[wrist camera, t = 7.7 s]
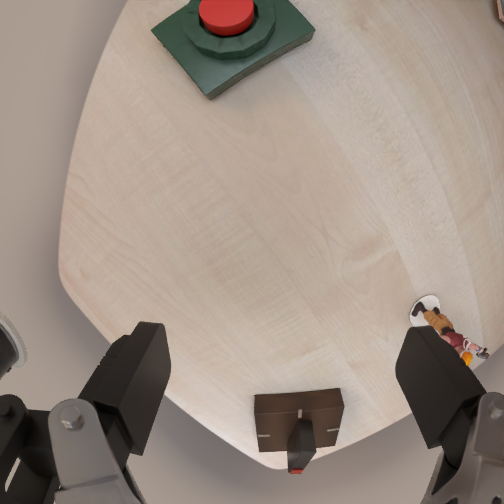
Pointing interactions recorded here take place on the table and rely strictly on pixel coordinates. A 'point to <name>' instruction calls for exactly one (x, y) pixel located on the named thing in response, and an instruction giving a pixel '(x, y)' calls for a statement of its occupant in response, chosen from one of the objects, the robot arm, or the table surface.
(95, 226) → the table surface
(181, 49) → the button box
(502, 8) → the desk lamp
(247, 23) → the button
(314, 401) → the panel
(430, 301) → the action figure
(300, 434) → the knob
